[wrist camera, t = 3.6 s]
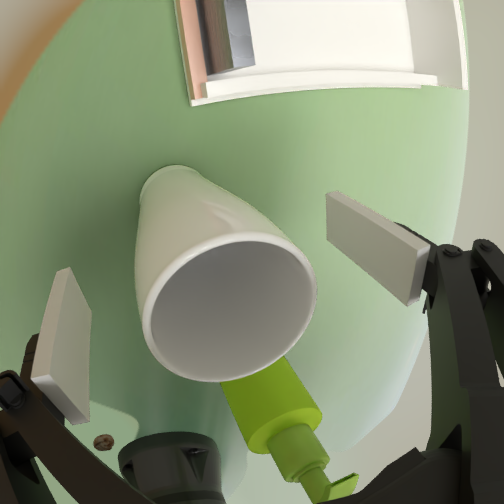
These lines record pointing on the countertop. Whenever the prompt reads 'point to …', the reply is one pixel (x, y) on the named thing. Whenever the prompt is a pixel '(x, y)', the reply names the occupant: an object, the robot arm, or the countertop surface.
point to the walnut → (103, 442)
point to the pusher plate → (225, 35)
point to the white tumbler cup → (216, 280)
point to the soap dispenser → (285, 428)
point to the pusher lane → (332, 47)
